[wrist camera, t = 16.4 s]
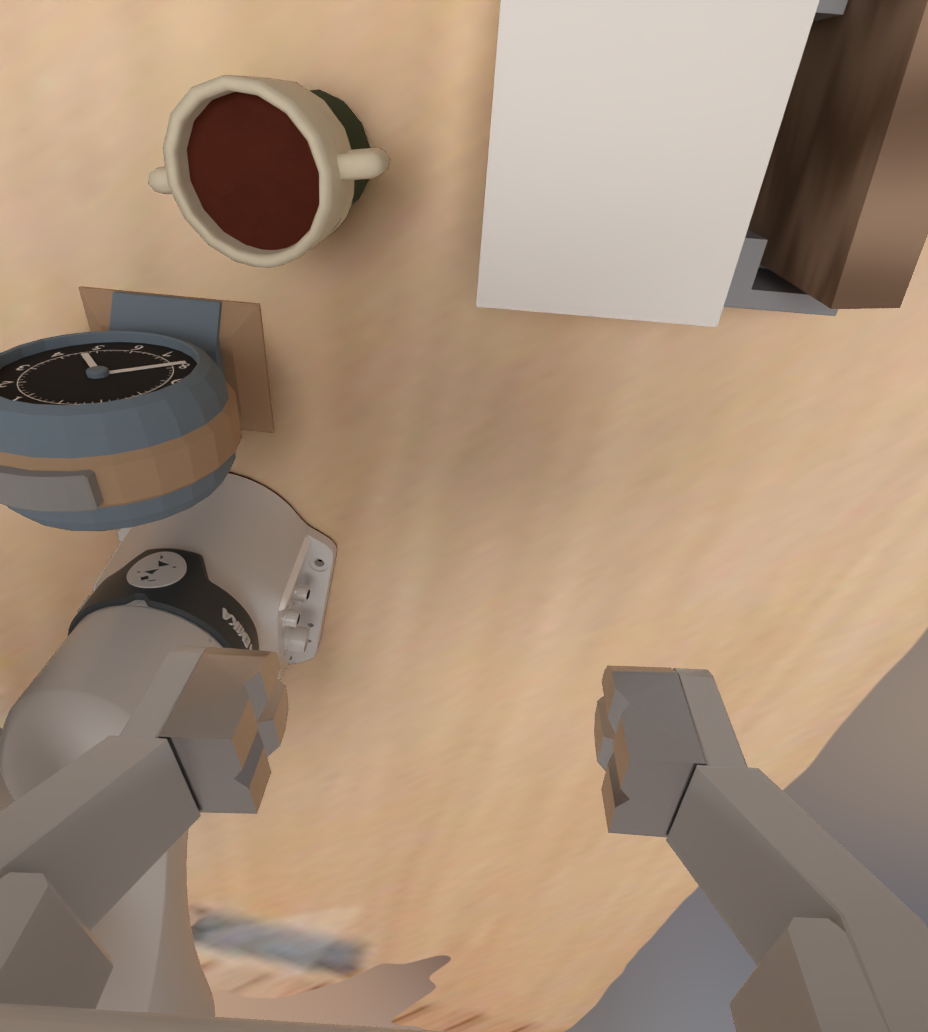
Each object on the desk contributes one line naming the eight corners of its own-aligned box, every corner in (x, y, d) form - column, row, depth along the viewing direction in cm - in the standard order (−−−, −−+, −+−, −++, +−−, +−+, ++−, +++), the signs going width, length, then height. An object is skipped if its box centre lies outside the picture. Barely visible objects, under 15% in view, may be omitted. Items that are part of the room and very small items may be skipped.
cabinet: (785, 283, 39) (872, 340, 30) (480, 257, 39) (476, 306, 30) (907, -53, 30) (1086, -118, 21) (509, -88, 30) (514, -168, 21)
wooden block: (809, 250, 37) (922, 307, 27) (742, 252, 37) (831, 308, 27) (881, -8, 30) (1068, -58, 20) (798, -5, 30) (944, -52, 20)
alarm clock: (274, 305, 41) (154, 418, 27) (287, 432, 47) (193, 583, 32) (65, 285, 41) (-170, 388, 27) (103, 415, 47) (-74, 559, 32)
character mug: (248, 225, 38) (153, 276, 28) (214, 88, 34) (87, 86, 24) (418, 213, 38) (387, 260, 27) (403, 71, 33) (360, 62, 23)
